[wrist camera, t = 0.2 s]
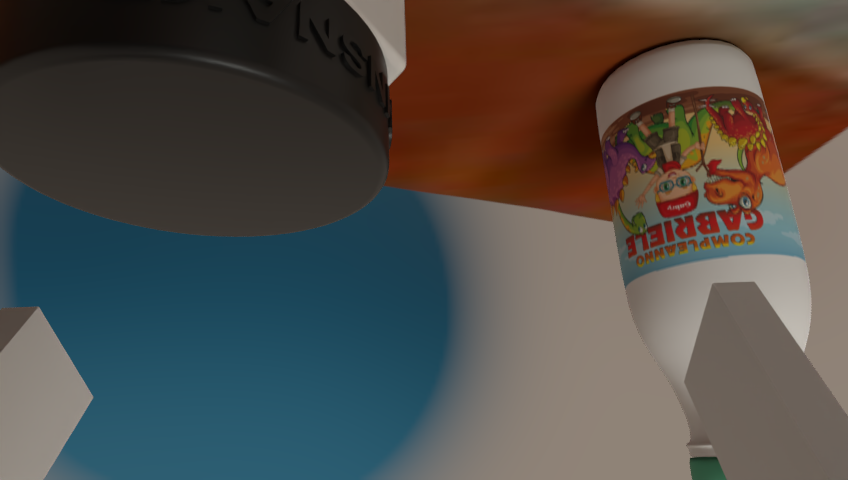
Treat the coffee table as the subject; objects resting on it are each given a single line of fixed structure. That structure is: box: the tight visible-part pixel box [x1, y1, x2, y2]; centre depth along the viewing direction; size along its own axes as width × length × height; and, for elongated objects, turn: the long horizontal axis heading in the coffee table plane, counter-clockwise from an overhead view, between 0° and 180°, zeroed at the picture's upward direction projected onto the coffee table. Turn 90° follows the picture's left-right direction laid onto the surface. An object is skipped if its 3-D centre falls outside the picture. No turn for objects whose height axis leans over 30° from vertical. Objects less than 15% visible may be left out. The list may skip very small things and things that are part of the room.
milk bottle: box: [596, 39, 811, 480], centre depth 27 cm, size 8×8×20 cm
